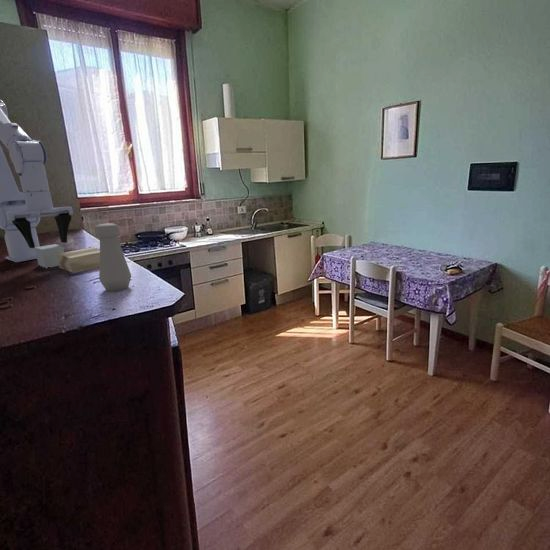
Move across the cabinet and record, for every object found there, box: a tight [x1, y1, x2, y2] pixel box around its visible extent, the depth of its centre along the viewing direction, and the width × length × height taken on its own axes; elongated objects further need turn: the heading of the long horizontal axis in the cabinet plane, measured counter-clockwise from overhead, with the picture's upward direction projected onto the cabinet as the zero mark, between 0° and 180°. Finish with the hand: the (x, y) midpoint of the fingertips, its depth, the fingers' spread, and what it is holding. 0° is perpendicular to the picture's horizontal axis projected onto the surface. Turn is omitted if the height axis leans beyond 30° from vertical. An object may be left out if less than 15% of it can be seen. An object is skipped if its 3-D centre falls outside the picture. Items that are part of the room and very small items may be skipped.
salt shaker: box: [94, 222, 132, 293], centre depth 70 cm, size 6×6×13 cm
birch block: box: [57, 246, 100, 274], centre depth 91 cm, size 9×9×4 cm
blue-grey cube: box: [35, 243, 65, 269], centre depth 94 cm, size 5×5×5 cm
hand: (48, 244), depth 93 cm, fingers open, 7 cm apart
